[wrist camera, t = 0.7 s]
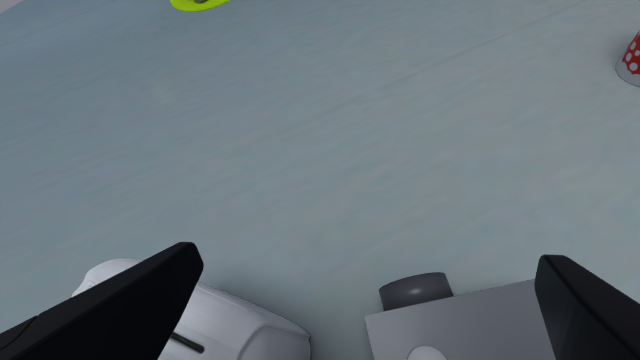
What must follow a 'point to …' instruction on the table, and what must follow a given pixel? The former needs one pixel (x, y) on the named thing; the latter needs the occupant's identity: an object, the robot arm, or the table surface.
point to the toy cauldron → (196, 4)
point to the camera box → (457, 322)
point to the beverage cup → (630, 63)
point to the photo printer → (220, 325)
